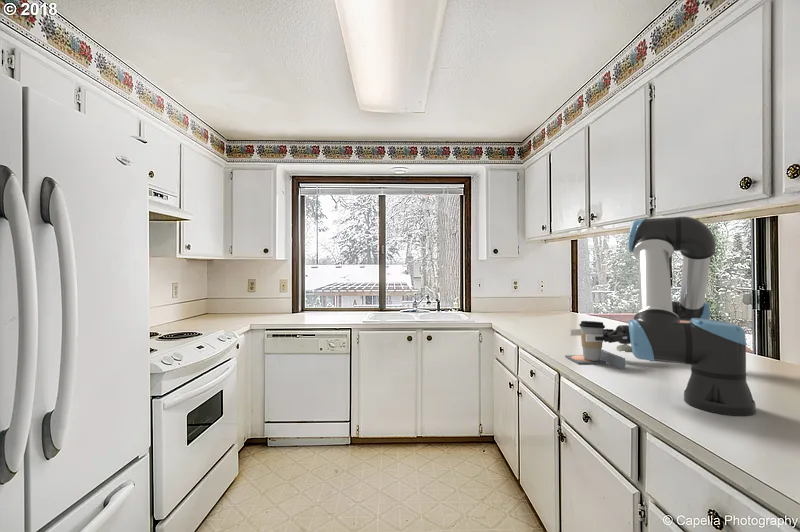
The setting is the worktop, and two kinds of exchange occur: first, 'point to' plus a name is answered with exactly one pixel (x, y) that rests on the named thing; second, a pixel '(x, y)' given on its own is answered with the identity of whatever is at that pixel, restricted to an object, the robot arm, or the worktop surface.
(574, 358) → the mat
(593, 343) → the coffee cup
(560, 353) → the worktop surface
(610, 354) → the blue-grey rectangular bar
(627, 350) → the toy dinosaur
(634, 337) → the robot arm
